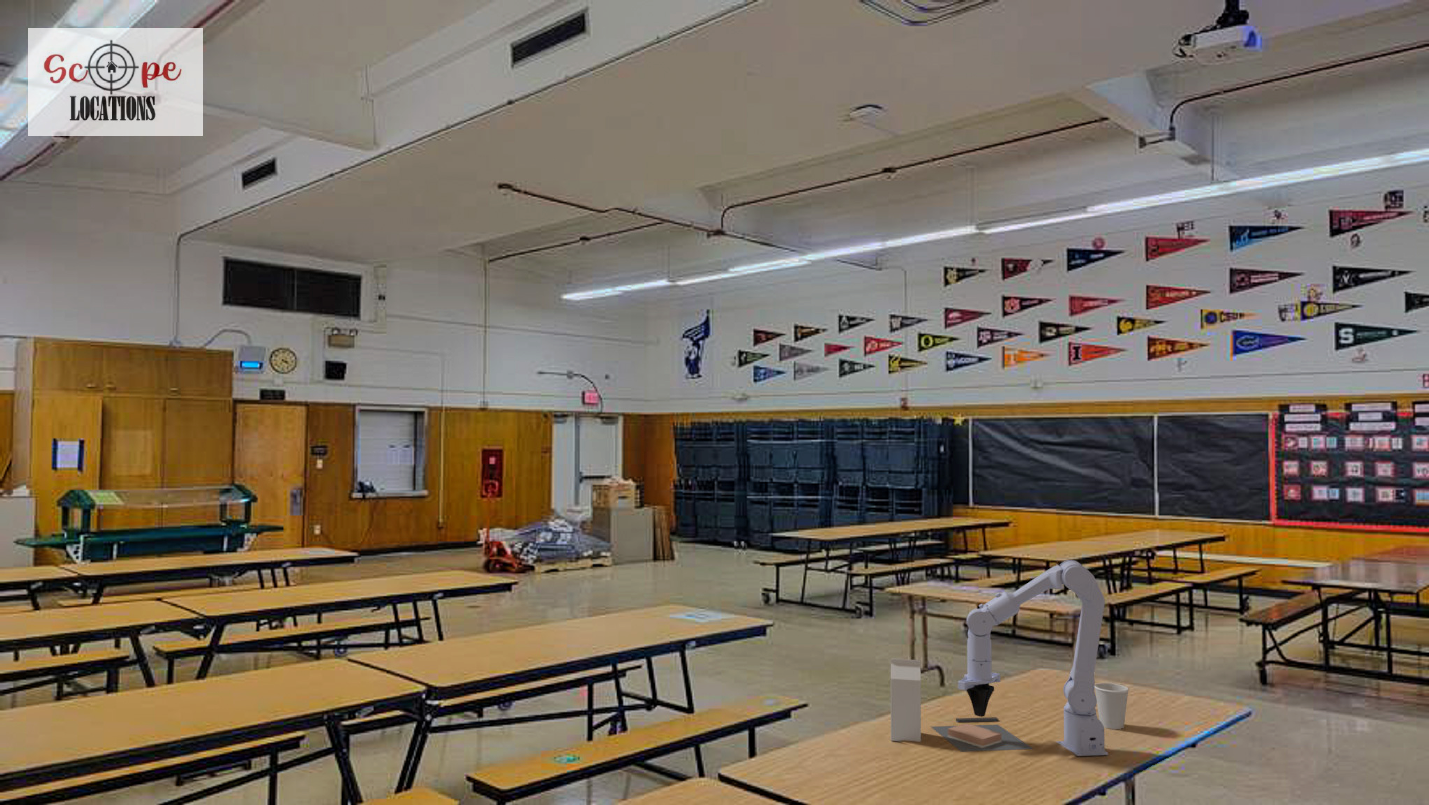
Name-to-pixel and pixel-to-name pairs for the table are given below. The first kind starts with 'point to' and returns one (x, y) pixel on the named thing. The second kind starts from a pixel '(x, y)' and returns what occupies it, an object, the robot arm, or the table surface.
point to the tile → (974, 735)
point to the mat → (1006, 744)
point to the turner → (977, 719)
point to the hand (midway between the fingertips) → (979, 715)
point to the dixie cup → (1111, 704)
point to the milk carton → (905, 700)
